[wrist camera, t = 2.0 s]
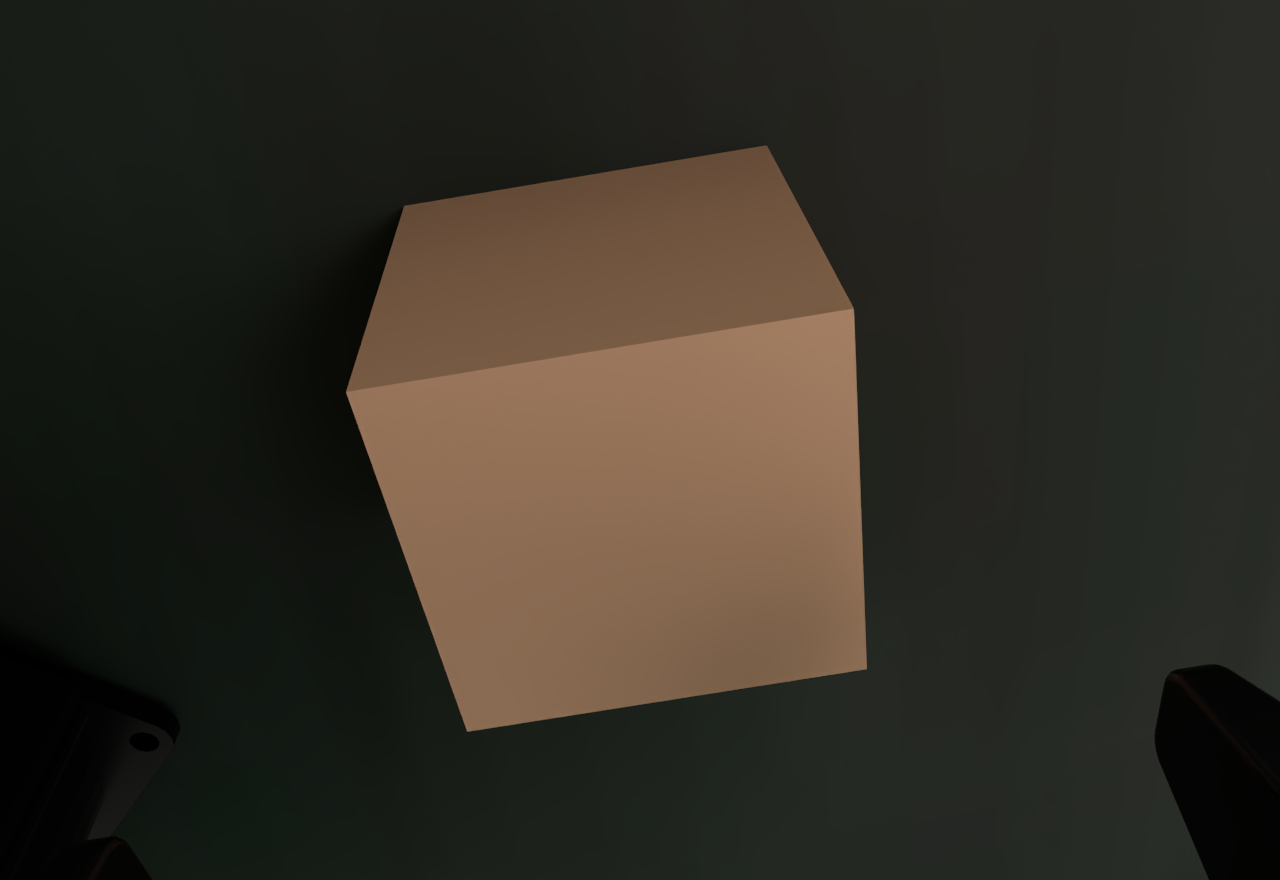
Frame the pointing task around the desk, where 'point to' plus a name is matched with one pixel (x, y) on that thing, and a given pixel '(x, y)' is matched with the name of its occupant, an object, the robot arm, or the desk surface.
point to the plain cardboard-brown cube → (619, 438)
